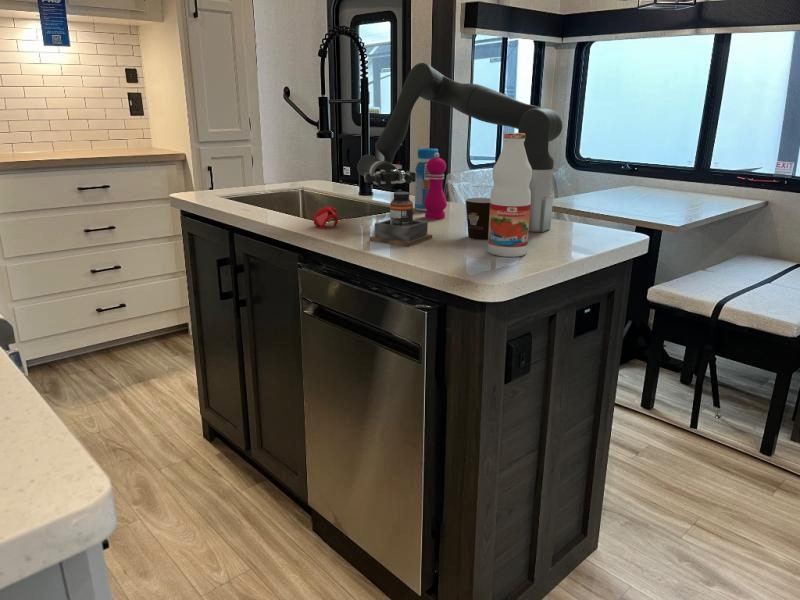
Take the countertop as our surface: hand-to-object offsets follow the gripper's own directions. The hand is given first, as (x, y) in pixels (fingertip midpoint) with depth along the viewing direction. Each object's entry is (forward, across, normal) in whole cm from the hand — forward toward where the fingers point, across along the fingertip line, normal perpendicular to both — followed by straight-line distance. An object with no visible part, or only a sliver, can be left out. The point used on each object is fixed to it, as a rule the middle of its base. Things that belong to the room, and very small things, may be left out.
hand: (394, 179), depth 169 cm
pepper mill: (-18, +17, +14) cm, 29 cm away
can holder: (+12, -1, +14) cm, 19 cm away
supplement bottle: (+12, -1, +14) cm, 18 cm away
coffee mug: (+14, +21, +15) cm, 29 cm away
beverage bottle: (-34, +18, +14) cm, 41 cm away
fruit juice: (+31, +21, +15) cm, 40 cm away
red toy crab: (-9, -18, +14) cm, 25 cm away
